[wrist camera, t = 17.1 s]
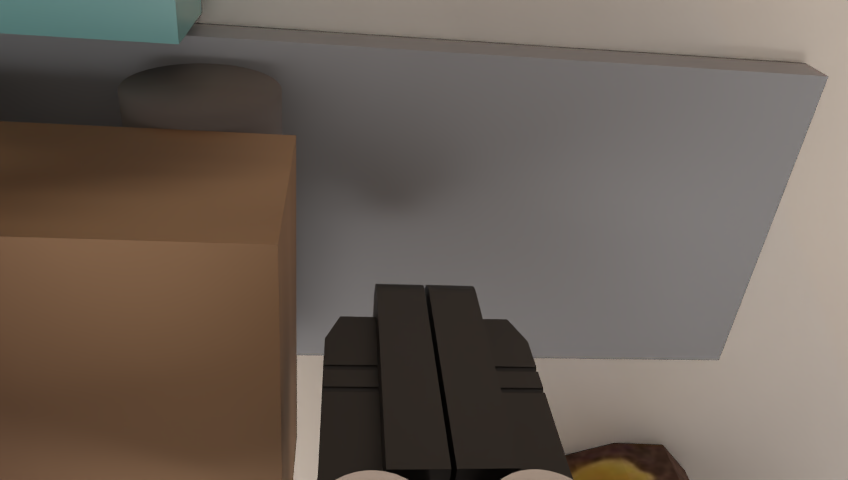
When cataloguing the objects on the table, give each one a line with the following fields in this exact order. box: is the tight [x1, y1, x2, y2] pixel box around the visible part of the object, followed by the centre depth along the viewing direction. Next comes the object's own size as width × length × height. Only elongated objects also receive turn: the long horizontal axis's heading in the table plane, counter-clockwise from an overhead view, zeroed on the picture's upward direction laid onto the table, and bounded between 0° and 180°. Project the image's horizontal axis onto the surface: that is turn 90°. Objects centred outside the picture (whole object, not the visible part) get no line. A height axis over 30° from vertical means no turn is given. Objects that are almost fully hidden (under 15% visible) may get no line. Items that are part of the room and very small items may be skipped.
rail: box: [0, 23, 828, 360], centre depth 12 cm, size 21×7×6 cm, turn 85°
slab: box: [0, 63, 297, 480], centre depth 11 cm, size 8×6×5 cm
